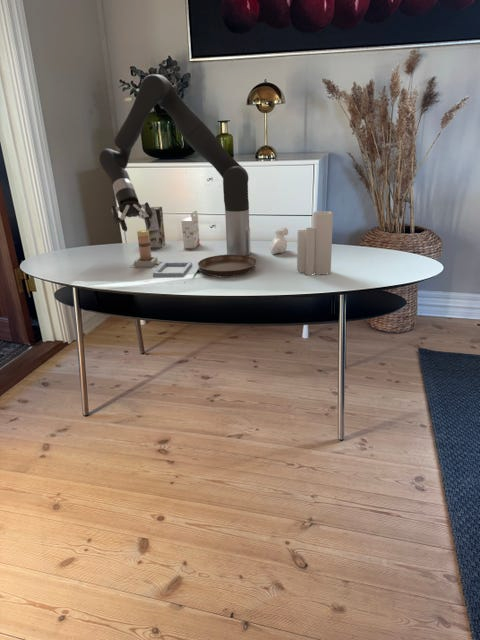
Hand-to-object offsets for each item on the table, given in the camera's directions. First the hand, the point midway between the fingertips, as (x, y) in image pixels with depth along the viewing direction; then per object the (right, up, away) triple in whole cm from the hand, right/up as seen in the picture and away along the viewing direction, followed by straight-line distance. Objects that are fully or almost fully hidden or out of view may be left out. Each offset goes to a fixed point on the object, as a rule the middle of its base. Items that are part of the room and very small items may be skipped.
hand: (137, 228), depth 175 cm
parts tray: (+14, -18, -9) cm, 24 cm away
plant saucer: (+33, -16, -5) cm, 37 cm away
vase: (+62, -17, -12) cm, 66 cm away
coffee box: (+1, -1, +36) cm, 36 cm away
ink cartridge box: (+17, -2, +32) cm, 36 cm away
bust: (+53, -7, +16) cm, 56 cm away
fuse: (+3, -13, -1) cm, 14 cm away
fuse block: (+3, -14, 0) cm, 15 cm away
